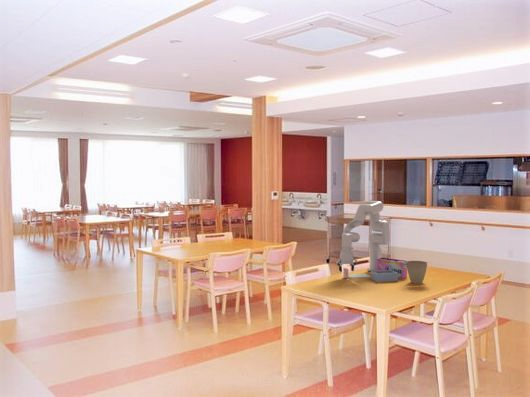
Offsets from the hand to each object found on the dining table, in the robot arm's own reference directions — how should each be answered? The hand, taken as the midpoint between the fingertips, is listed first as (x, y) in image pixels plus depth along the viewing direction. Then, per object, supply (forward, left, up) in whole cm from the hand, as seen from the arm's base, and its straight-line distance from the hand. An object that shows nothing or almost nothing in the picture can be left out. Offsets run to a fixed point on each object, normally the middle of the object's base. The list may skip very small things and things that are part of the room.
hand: (346, 271), depth 391 cm
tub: (+16, +24, -5) cm, 29 cm away
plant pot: (+29, +43, -6) cm, 53 cm away
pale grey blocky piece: (0, +8, -6) cm, 10 cm away
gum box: (+2, +37, -6) cm, 37 cm away
